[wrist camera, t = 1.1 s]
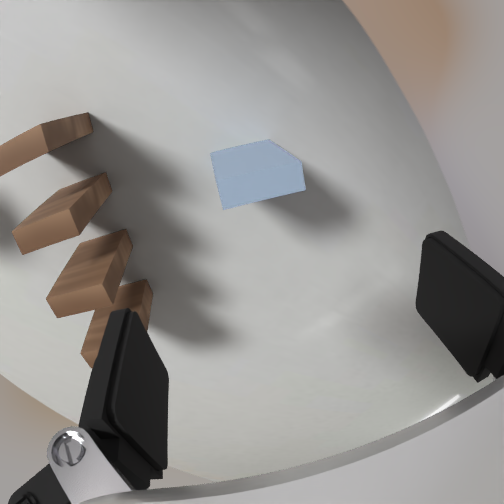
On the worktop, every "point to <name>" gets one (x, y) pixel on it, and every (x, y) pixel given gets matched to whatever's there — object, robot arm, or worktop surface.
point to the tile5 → (127, 297)
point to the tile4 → (91, 275)
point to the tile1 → (256, 173)
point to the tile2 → (42, 140)
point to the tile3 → (62, 214)
